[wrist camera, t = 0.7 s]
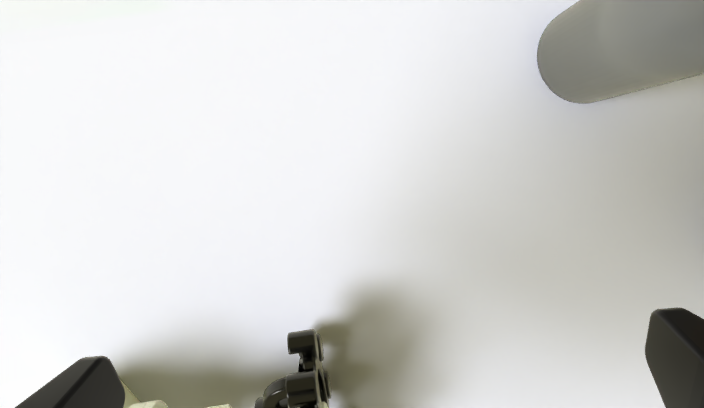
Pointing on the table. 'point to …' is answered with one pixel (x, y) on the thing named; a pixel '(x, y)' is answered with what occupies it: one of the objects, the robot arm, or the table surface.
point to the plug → (621, 47)
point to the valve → (282, 380)
